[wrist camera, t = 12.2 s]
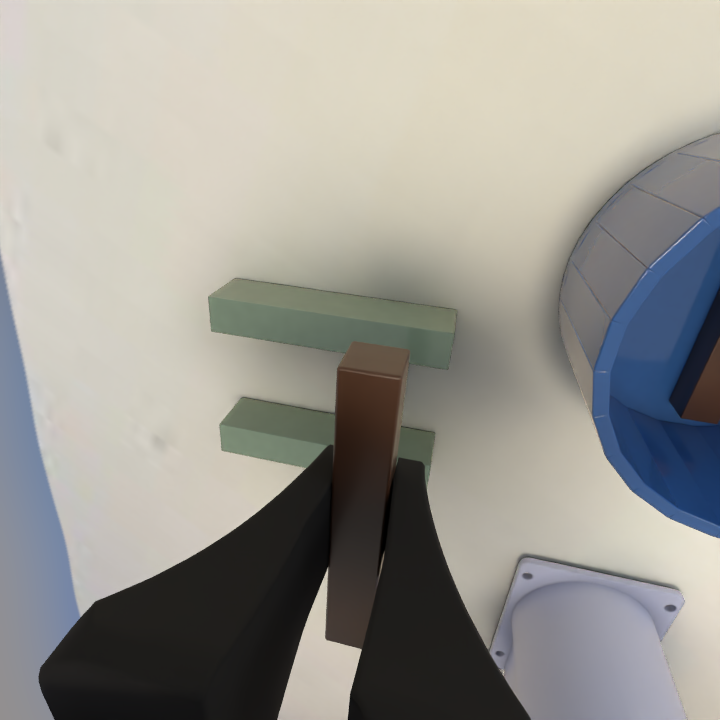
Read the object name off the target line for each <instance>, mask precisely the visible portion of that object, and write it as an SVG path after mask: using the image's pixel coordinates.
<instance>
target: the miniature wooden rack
mask: <svg viewBox="0 0 720 720" xmlns="http://www.w3.org/2000/svg"><path fill="white" fill-rule="evenodd" d="M208 300H209V312H210V323H211V331H212V332H218V333H224V334H230V335H236V336H243V337H249V338H255V339H261V340H267V341H273V342H279V343H286V344H292V345H298V346H304V347H310V348H316V349H322V350H329V351H335V352H341V353H346V352H347V350H348V348H349V346H350V344H351V342H353V341H357V342H364V343H370V344H377V345H384V346H390V347H397V348H403V349H408V350H410V359H409V364H415V365H421V366H427V367H433V368H439V369H445V370H448V368H449V363H450V357H451V352H452V346H453V341H454V335H455V326H456V316H457V310H454V309H447V308H440V307H433V306H426V305H419V304H412V303H405V302H398V301H391V300H384V299H377V298H370V297H363V296H356V295H349V294H342V293H335V292H328V291H321V290H313V289H306V288H299V287H292V286H285V285H278V284H271V283H264V282H257V281H250V280H243V279H236V278H235V279H233V280H232V281H230V282H229V283H227V284H226V285H224V286H223V287H221V288H220V289H218V290H217V291H216V292H214V293H213V294H211V295H210V296H208ZM334 428H335V414H329V413H324V412H319V411H313V410H308V409H302V408H297V407H291V406H286V405H281V404H275V403H270V402H264V401H259V400H254V399H248V398H241V399H240V400H239V402H238V403H237V404H236V405H235V406H234V408H233V409H232V410H231V411H230V412H229V414H228V415H227V416H226V417H225V418H224V420H223V421H222V422H221V423H220V437H221V448H222V451H226V452H230V453H235V454H240V455H245V456H250V457H255V458H260V459H265V460H269V461H274V462H279V463H284V464H289V465H294V466H299V467H304V468H307V467H308V466H309V465H310V464H311V463H312V462H313V461H314V460H315V459H316V458H317V457H318V456H319V454H320V453H321V452H322V451H323V450H324V449H325V448H326V447H327V446H329V445H330V444H331V445H334ZM434 438H435V433H432V432H427V431H422V430H416V429H411V428H405V427H401V431H400V439H399V447H398V455H397V462H398V458H399V457H400V458H405V459H410V460H416V461H421V462H422V463H423V464H424V465H425V481H426V489H427V485H428V479H429V474H430V468H431V462H432V454H433V446H434ZM396 465H397V463H396Z"/></svg>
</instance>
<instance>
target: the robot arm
mask: <svg viewBox="0 0 720 720" xmlns="http://www.w3.org/2000/svg"><path fill="white" fill-rule="evenodd" d="M333 451H334V445H331V444H330V445H329V446H327V447H326V448H325V449H324V450H323V451H322V452H321V453H320V454H319V456H318V457H317V458H316V459H315V460H314V461H313V462H312V463H311V464H310V465H309V466H308V467H307V468H306V469H305V470H304V471H303V472H302V473H301V474H300V475H299V476H298V477H297V478H296V479H295V480H294V481H293V482H292V483H291V484H290V485H289V486H287V487H286V488H285V489H284V490H283V491H282V492H281V493H280V494H279V495H278V496H276V497H275V498H274V499H273V500H272V501H270V502H269V503H268V504H267V505H266V506H264V507H263V508H262V509H261V510H260V511H258V512H257V513H256V514H255V515H253V516H252V517H251V518H249V519H248V520H247V521H245V522H244V523H243V524H241V525H240V526H239V527H237V528H236V529H234V530H233V531H231V532H230V533H229V534H227V535H226V536H224V537H223V538H221V539H219V540H218V541H216V542H215V543H213V544H211V545H210V546H208V547H207V548H205V549H204V550H202V551H200V552H199V553H197V554H195V555H193V556H192V557H190V558H188V559H186V560H184V561H183V562H181V563H179V564H177V565H175V566H173V567H171V568H169V569H167V570H165V571H163V572H162V573H160V574H158V575H156V576H154V577H152V578H149V579H147V580H145V581H143V582H141V583H138V584H136V585H134V586H131V587H129V588H127V589H124V590H122V591H120V592H117V593H115V594H113V595H110V596H108V597H105V598H103V599H100V600H98V601H95V603H94V604H93V605H92V606H91V607H90V608H89V609H88V610H87V611H86V612H85V613H84V614H83V616H82V617H81V618H80V619H79V620H78V621H77V623H76V624H75V625H74V626H73V627H72V628H71V630H70V631H69V632H68V634H67V635H66V636H65V637H64V639H63V640H62V641H61V642H60V644H59V645H58V646H57V647H56V649H55V650H54V651H53V653H52V654H51V655H50V657H49V658H48V659H47V660H46V661H45V663H44V664H43V665H42V667H41V668H40V673H39V684H40V687H41V691H42V693H43V696H44V698H45V700H46V702H47V704H48V706H49V709H50V711H51V713H52V715H53V717H54V719H55V720H277V718H278V714H279V711H280V707H281V704H282V700H283V697H284V693H285V690H286V687H287V683H288V680H289V676H290V673H291V669H292V666H293V662H294V659H295V656H296V652H297V649H298V646H299V642H300V639H301V636H302V632H303V629H304V627H305V624H306V621H307V618H308V615H309V613H310V610H311V608H312V605H313V603H314V600H315V598H316V595H317V593H318V590H319V588H320V585H321V583H322V580H323V578H324V576H325V573H326V571H327V568H328V564H329V541H330V519H331V496H332V473H333ZM684 603H685V600H684V597H683V595H682V593H681V592H680V591H678V590H676V589H672V588H667V587H662V586H658V585H653V584H649V583H644V582H640V581H635V580H630V579H626V578H621V577H617V576H612V575H608V574H603V573H598V572H594V571H589V570H585V569H580V568H576V567H571V566H566V565H562V564H557V563H553V562H548V561H544V560H539V559H534V558H528V557H527V558H523V559H521V560H520V562H519V564H518V567H517V570H516V573H515V576H514V579H513V582H512V585H511V588H510V591H509V594H508V597H507V600H506V603H505V606H504V609H503V612H502V615H501V618H500V621H499V624H498V627H497V630H496V633H495V636H494V639H493V642H492V645H491V648H490V651H488V649H487V648H486V646H485V644H484V642H483V640H482V638H481V636H480V634H479V633H478V631H477V629H476V627H475V625H474V623H473V621H472V619H471V617H470V615H469V614H468V612H467V610H466V607H465V605H464V603H463V601H462V599H461V596H460V594H459V592H458V590H457V588H456V585H455V583H454V580H453V578H452V576H451V573H450V571H449V568H448V565H447V563H446V560H445V557H444V554H443V551H442V548H441V545H440V542H439V539H438V536H437V533H436V529H435V525H434V522H433V518H432V514H431V510H430V505H429V501H428V495H427V489H426V481H425V465H424V464H423V463H422V462H421V461H416V460H410V459H405V458H400V457H399V458H398V462H397V465H396V469H395V473H394V478H393V486H392V494H391V502H390V510H389V518H388V526H387V535H386V543H385V551H384V560H383V564H382V569H381V573H380V577H379V582H378V586H377V590H376V594H375V599H374V603H373V607H372V611H371V615H370V619H369V623H368V627H367V631H366V635H365V639H364V643H363V647H362V651H361V655H360V659H359V663H358V667H357V670H356V674H355V678H354V682H353V686H352V689H351V693H350V702H349V713H348V720H688V719H687V717H686V714H685V711H684V708H683V705H682V702H681V699H680V696H679V694H678V691H677V688H676V685H675V682H674V679H673V676H672V674H671V671H670V668H669V665H668V662H667V659H666V656H665V653H664V651H663V648H662V645H661V640H662V639H663V637H664V636H665V634H666V632H667V631H668V629H669V628H670V626H671V624H672V623H673V621H674V619H675V618H676V616H677V615H678V613H679V611H680V610H681V608H682V606H683V605H684ZM499 669H502V670H504V671H505V678H504V676H503V675H502V673H501V671H500V670H499Z"/></svg>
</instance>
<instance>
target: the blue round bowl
mask: <svg viewBox="0 0 720 720" xmlns="http://www.w3.org/2000/svg"><path fill="white" fill-rule="evenodd" d="M719 288H720V133H717V134H715V135H712V136H709V137H706V138H703V139H700V140H698V141H695V142H693V143H691V144H689V145H687V146H685V147H683V148H681V149H678V150H676V151H674V152H672V153H670V154H669V155H667V156H665V157H664V158H662V159H660V160H659V161H657V162H656V163H654V164H652V165H651V166H649V167H647V168H646V169H645V170H644V171H642V172H641V173H640V174H638V175H637V176H636V177H634V178H633V179H632V180H630V181H629V182H628V183H627V184H625V185H624V186H623V187H622V188H621V189H620V190H619V191H618V192H617V193H616V194H615V195H614V196H613V197H612V198H611V199H610V200H609V201H608V202H607V203H606V204H605V205H604V206H603V208H602V209H601V210H600V211H599V212H598V213H597V215H596V216H595V217H594V218H593V219H592V221H591V222H590V224H589V225H588V227H587V228H586V230H585V231H584V233H583V234H582V236H581V237H580V239H579V241H578V243H577V245H576V247H575V249H574V251H573V253H572V255H571V257H570V259H569V262H568V265H567V268H566V271H565V273H564V276H563V281H562V286H561V291H560V298H559V323H560V331H561V337H562V340H563V343H564V347H565V349H566V352H567V355H568V358H569V361H570V364H571V367H572V369H573V372H574V375H575V377H576V380H577V383H578V385H579V388H580V391H581V393H582V396H583V399H584V401H585V404H586V407H587V409H588V412H589V415H590V417H591V420H592V422H593V425H594V428H595V430H596V433H597V436H598V438H599V441H600V444H601V446H602V449H603V452H604V454H605V456H606V458H607V460H608V461H609V462H610V464H611V465H612V466H613V467H614V469H615V470H616V471H617V473H618V474H619V475H620V477H621V478H622V479H623V481H624V482H625V483H626V485H627V486H628V487H629V488H630V490H632V492H634V493H635V494H636V495H638V496H639V497H641V498H642V499H643V500H645V501H646V502H647V503H649V504H650V505H651V506H653V507H654V508H656V509H657V510H658V511H660V512H661V513H662V514H664V515H665V516H666V517H669V518H670V519H672V520H674V521H677V522H679V523H682V524H684V525H686V526H689V527H691V528H694V529H696V530H698V531H701V532H703V533H706V534H708V535H710V536H713V537H716V538H720V420H719V422H718V424H712V423H706V422H700V421H694V420H688V419H682V418H680V416H679V415H678V414H677V412H676V411H675V409H674V408H673V406H672V405H671V403H670V402H669V399H670V397H671V395H672V393H673V391H674V388H675V386H676V384H677V382H678V379H679V377H680V375H681V373H682V371H683V368H684V366H685V364H686V362H687V359H688V357H689V355H690V353H691V351H692V348H693V346H694V344H695V342H696V340H697V337H698V335H699V333H700V331H701V328H702V326H703V324H704V322H705V320H706V317H707V315H708V313H709V311H710V308H711V306H712V304H713V302H714V300H715V297H716V295H717V293H718V291H719Z"/></svg>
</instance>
